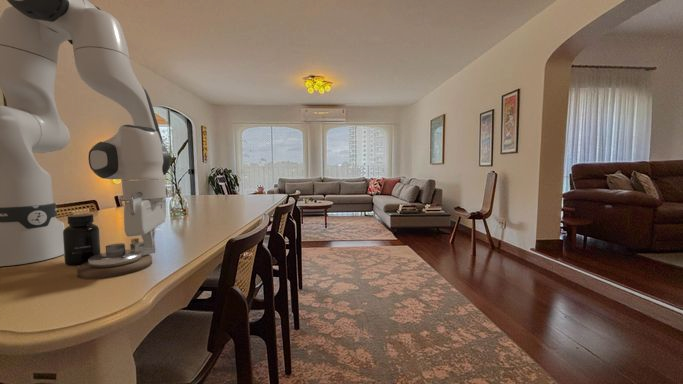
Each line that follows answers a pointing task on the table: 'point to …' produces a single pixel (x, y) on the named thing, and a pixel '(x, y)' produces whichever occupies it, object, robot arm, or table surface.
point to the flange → (120, 255)
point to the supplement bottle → (80, 239)
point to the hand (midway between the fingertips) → (149, 247)
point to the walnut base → (114, 268)
